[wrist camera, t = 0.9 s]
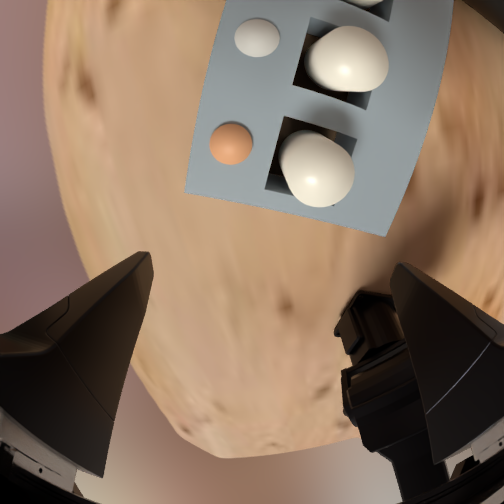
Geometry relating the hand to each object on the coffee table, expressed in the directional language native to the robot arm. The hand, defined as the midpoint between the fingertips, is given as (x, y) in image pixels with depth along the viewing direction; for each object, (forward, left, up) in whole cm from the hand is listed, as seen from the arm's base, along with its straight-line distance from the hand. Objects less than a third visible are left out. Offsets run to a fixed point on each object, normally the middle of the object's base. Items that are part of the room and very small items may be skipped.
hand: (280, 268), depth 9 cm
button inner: (-2, -2, -10) cm, 10 cm away
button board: (-2, -9, -12) cm, 15 cm away
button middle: (-2, -9, -10) cm, 13 cm away
